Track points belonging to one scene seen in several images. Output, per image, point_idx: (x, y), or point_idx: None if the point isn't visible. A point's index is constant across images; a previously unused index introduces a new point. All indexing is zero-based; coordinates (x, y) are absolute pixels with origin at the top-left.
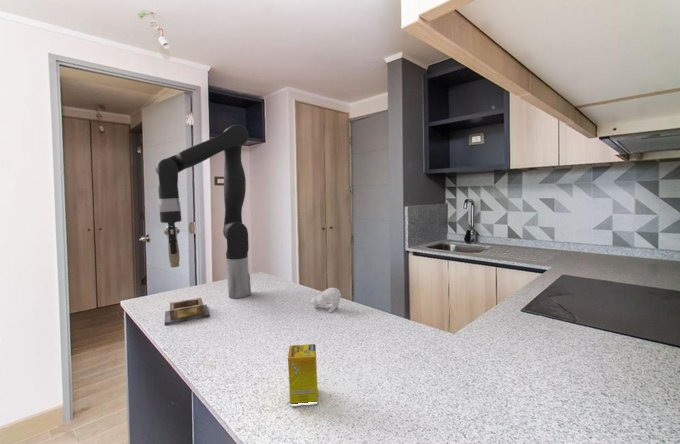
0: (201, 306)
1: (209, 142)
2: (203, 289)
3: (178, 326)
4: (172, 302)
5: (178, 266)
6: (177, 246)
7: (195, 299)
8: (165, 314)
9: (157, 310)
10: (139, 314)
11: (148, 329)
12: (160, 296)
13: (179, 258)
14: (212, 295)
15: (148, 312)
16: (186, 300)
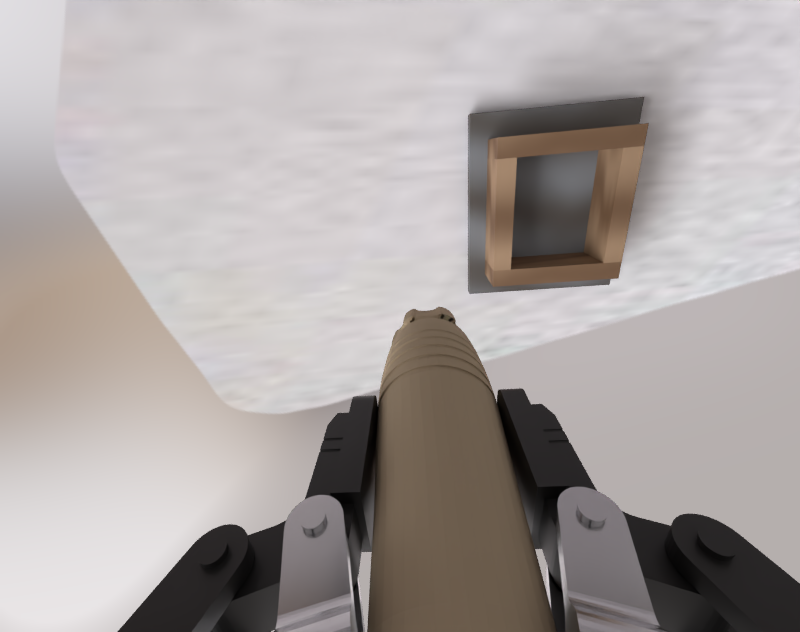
0: (642, 134)
1: None
2: (135, 136)
3: (652, 232)
4: (495, 276)
5: (444, 309)
6: (482, 436)
7: (512, 169)
8: (510, 289)
9: None
10: None
11: (604, 325)
12: (213, 328)
13: (427, 329)
14: (274, 80)
15: None
16: (502, 215)
